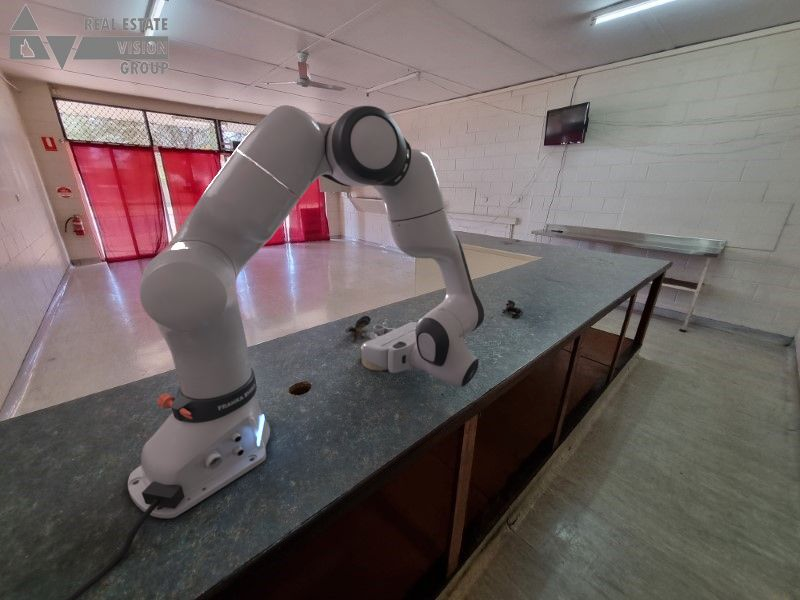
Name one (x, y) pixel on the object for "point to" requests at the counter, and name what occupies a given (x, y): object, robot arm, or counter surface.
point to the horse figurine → (512, 309)
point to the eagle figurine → (359, 327)
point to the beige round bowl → (368, 363)
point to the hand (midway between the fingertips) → (376, 332)
